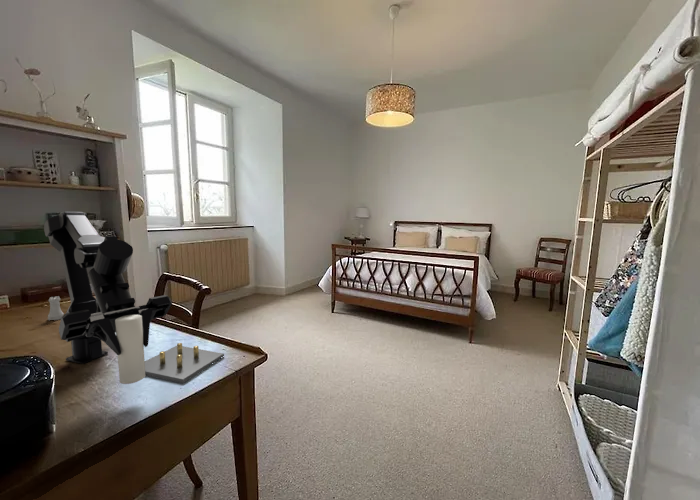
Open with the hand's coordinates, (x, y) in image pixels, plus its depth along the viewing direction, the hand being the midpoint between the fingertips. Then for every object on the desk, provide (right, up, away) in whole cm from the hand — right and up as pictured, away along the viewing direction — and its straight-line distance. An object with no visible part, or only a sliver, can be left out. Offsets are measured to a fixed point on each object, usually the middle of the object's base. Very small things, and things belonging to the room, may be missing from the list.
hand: (133, 349), depth 62 cm
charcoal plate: (0, -9, +17) cm, 20 cm away
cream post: (-1, -6, +2) cm, 7 cm away
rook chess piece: (-62, -5, +48) cm, 79 cm away
